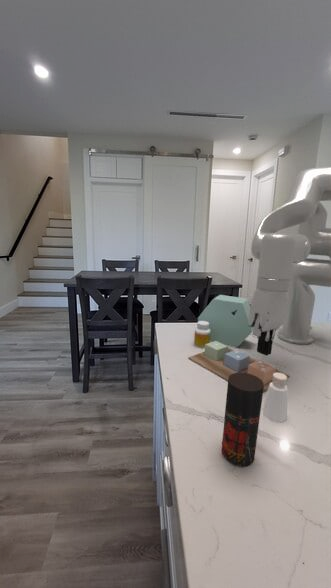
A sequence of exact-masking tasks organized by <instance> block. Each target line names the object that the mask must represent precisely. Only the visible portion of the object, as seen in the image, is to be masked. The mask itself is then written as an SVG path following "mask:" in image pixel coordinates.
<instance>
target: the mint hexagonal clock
mask: <svg viewBox="0 0 331 588" xmlns="http://www.w3.org/2000/svg"><path fill="white" fill-rule="evenodd" d="M250 308H251V304H250V301H249V299H248V298H245V297H238V296H230V295H225V294H219V295H217V296H215V297H214V298H213V299H212V300H211V301H210V302H209V304H208V305H206V307H205V308H204V310H202V312H201V313H200V315H199V316H198V317H197V322H198V321H206V322H208V323H209V329H210V331H211V333H210V343H211V342H214V341H217V342H220V343H222V344H224V345H226V346H228V347H232V348H236V349H237V348H238V347H239V346H240V345H241V344H242V343H243V342H244V341H245V340H246V339H247V338H248V337H249V336H251V334H252V333H253V329H254V327H249V326H248V320H249V313H250ZM233 313H234V314H233Z"/></svg>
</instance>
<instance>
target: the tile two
mask: <svg viewBox="0 0 331 588" xmlns="http://www.w3.org/2000/svg"><path fill="white" fill-rule="evenodd" d="M233 350H234V351H231V352H229V353H226V354H225V359H224V366H226V367H228V368H230V369H232V370H234V371H236V372H238V373H239V372H241V371H243V370H245V369H247V368H248V365H249V359H250V358H251V356H250V355H248V354H246V353H245V352H242V351H239V350H237V349H233Z"/></svg>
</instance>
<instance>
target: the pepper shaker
mask: <svg viewBox="0 0 331 588" xmlns="http://www.w3.org/2000/svg"><path fill="white" fill-rule="evenodd" d="M287 380H288V378H287V376H286V375H284V374H282V373H274V374H273V382H271V383H270V384H269V387H268V390H267V391H266V395H265V400H264V403H263V407H262V415H263V416H264V417H265V418H267V419H268V420H269V421H271V422H275V423H283V422H285V421H287V419H288V418H287V417H288V415H287V414H288V393H289V392H288V386H287V385H286V384H287Z"/></svg>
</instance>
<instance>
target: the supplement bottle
mask: <svg viewBox="0 0 331 588" xmlns="http://www.w3.org/2000/svg"><path fill="white" fill-rule="evenodd" d="M196 326H197V327H196V328H194V338H193V339H194V340H193V345H194V346H195V347H196V348H198V349H205V344H208V343H211V342H210V333H211V331H210V329H209V323H208V322H206V321H198V320H197V324H196Z"/></svg>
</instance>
